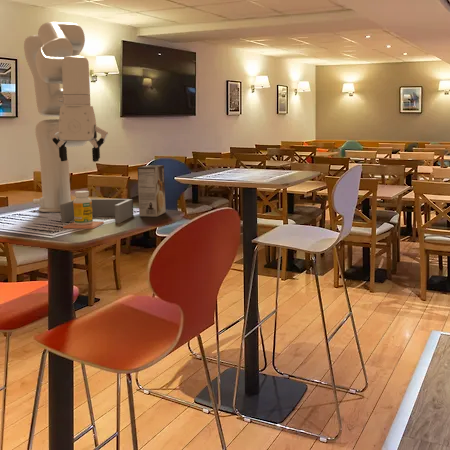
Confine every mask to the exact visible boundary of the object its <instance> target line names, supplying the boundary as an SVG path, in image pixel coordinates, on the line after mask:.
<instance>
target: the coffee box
mask: <svg viewBox="0 0 450 450" xmlns="http://www.w3.org/2000/svg"><path fill="white" fill-rule="evenodd" d="M165 183H166V182H165V165H164V164H163V165H162V164H160V165H159V164H155V165H154V164H153V165H152V164H151V165H142V166H139V167H137V189H138V208H139V209H138V210H139V217H157V218H158V217H159V216H162V215H163V214H166V211H167V210H166V188H165V187H166V186H165Z"/></svg>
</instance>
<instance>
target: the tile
mask: <svg viewBox="0 0 450 450" xmlns="http://www.w3.org/2000/svg"><path fill="white" fill-rule="evenodd" d="M103 224H105V222H104V221H95V220H93V223H92V224H88V225H76V224H75V221H73V222H70V223H68V224H66V225H63V229H96V228H98V227H99V226H100V227H101V225H103Z"/></svg>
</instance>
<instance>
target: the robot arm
mask: <svg viewBox="0 0 450 450" xmlns="http://www.w3.org/2000/svg"><path fill="white" fill-rule="evenodd" d="M85 41H86V38H85V32H84V29H83V28H82V27H81V26H80V25H79V24H77V23H73V22H60V21H59V22H58V21H49V22H44V23H42V24H40V26H39V28H38V30H37V34H32V35H29V36H27V37H26V38H25V39H24V43H23V50H24V51H23V52H24V57H25V60H26V63H27V66H28V68H29V70H30V72H31V74H32V77H33V84H34V93H35V101H36V103H35V104H36V108H37V111H38V113H39V114H40V115H41V116H43V117H58V119H56V118H54V119H44V120H41V121H39V122H37V123H36V125H35V129H34V130H35V132H34V133H35V138H36V142H37V146H38V155H39V165H40V180H41V193H42V195H41V196H42V197H39V198H33V199H32V205H39V207H38V211H39V212H44V213H61V212H60V205H62V204H65V203H68V202H71V201H72V198H71V181H70V165H69V159H68V150H67V148H73V147H74V148H75V147H76V148H77V147H82V146H85V145H86V144H87V142H90V144H91V145H92V146H93V147H92V149H91V153H92V162H94V163H96V162H99V160H100V158H101V150H100V148H101V146H102V145H103V144H104V143H105V142H106V139H107V137H108V135H109V132H108V131H106V130H105V129H103V128H101V127H98V126H97V122H96V114H95V110H94V106H93V105H91V84H90V66H89V64H90V63H89V60H88V58H86V57H85V56H81V55H80V54H81V53H82V51H83V49H84V46H85ZM61 85H62V87H61ZM98 134H99V135H101V136H100V138H99V139H97V137H98Z"/></svg>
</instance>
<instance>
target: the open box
mask: <svg viewBox="0 0 450 450" xmlns="http://www.w3.org/2000/svg"><path fill="white" fill-rule="evenodd" d="M90 199H91V200H92V215H93V217H114V222H115V224H121V223H122V222H124V221H126V220H128V219H131V218H132V217H133V216H134V199H133V198H90ZM73 201H74V200H71V202H68V203H65V204H62V205H60V212H59V213H60V223H61V224H66V223H68V222H70V221H73V220H74V207H73Z"/></svg>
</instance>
